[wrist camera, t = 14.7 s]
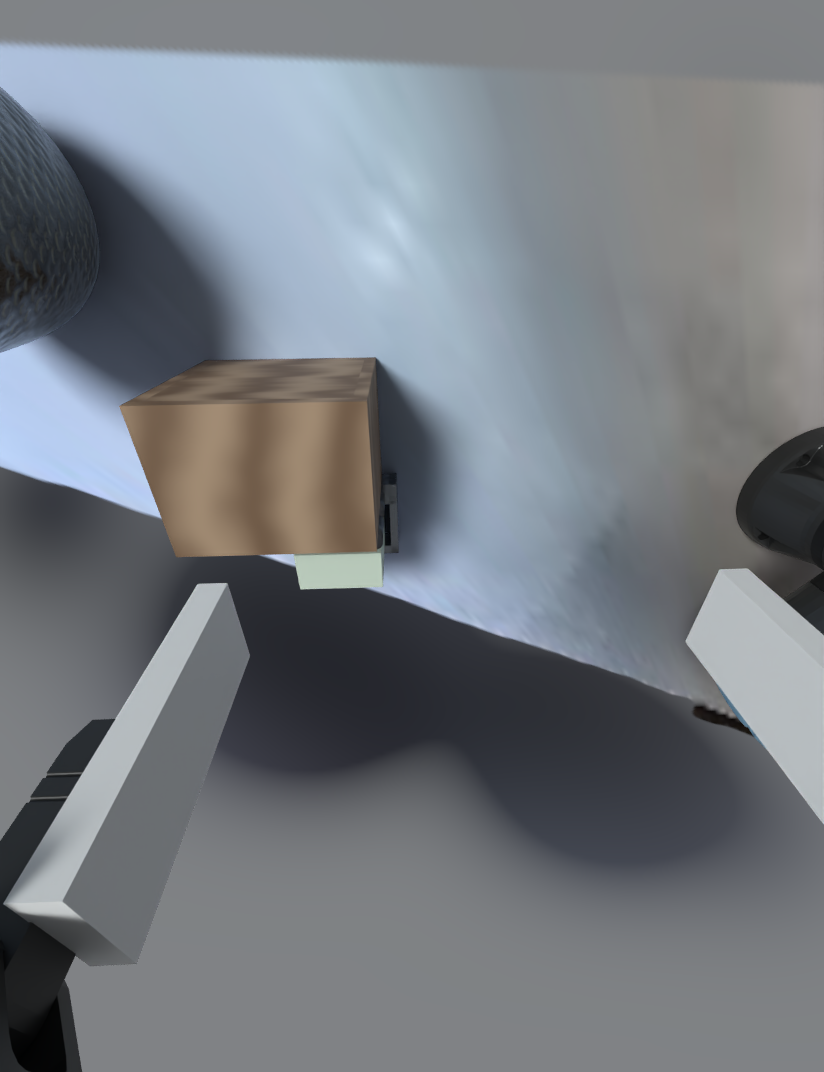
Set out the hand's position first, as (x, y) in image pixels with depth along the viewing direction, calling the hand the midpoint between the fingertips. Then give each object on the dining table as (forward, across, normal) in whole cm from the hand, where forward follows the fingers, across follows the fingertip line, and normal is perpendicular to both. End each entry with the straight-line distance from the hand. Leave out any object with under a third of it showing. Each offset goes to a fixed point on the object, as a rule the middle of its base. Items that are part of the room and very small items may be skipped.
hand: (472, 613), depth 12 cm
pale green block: (+35, +8, +16) cm, 39 cm away
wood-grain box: (+35, +12, +6) cm, 37 cm away
